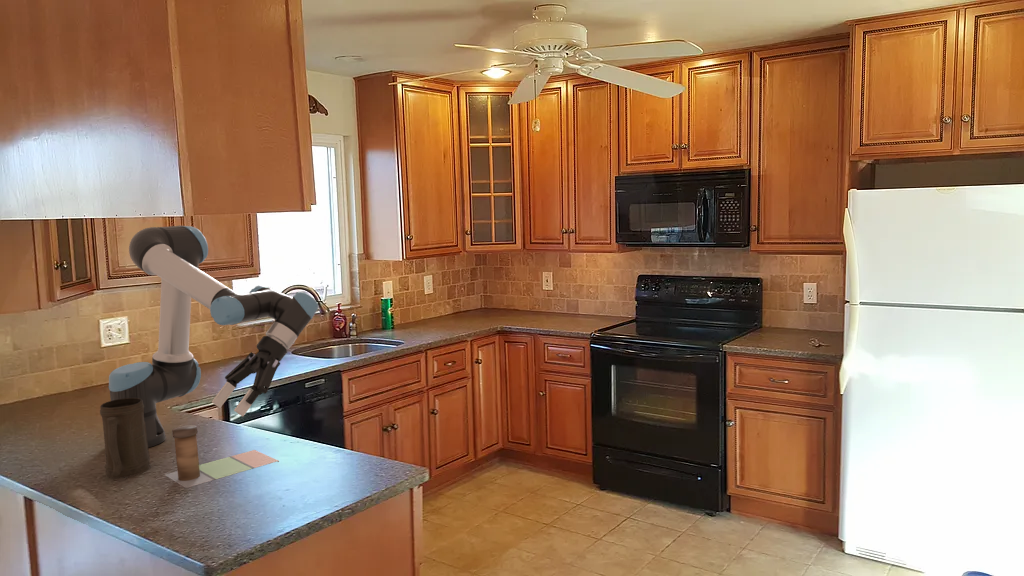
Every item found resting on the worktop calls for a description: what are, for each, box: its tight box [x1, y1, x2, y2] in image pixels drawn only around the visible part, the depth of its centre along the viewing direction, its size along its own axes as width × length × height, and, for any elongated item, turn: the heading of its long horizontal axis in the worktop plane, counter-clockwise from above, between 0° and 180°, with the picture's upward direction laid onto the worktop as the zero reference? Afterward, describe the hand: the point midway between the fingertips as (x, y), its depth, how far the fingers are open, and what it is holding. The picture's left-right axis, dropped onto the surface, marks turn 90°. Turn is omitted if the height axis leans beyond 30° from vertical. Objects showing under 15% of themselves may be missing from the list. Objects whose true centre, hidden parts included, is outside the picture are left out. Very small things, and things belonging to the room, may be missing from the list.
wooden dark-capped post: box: [171, 424, 200, 481], centre depth 180 cm, size 6×6×12 cm
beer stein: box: [99, 398, 151, 479], centre depth 184 cm, size 15×11×20 cm
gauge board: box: [164, 449, 280, 489], centre depth 186 cm, size 14×24×1 cm, turn 135°
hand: (226, 409), depth 186 cm, fingers open, 13 cm apart
